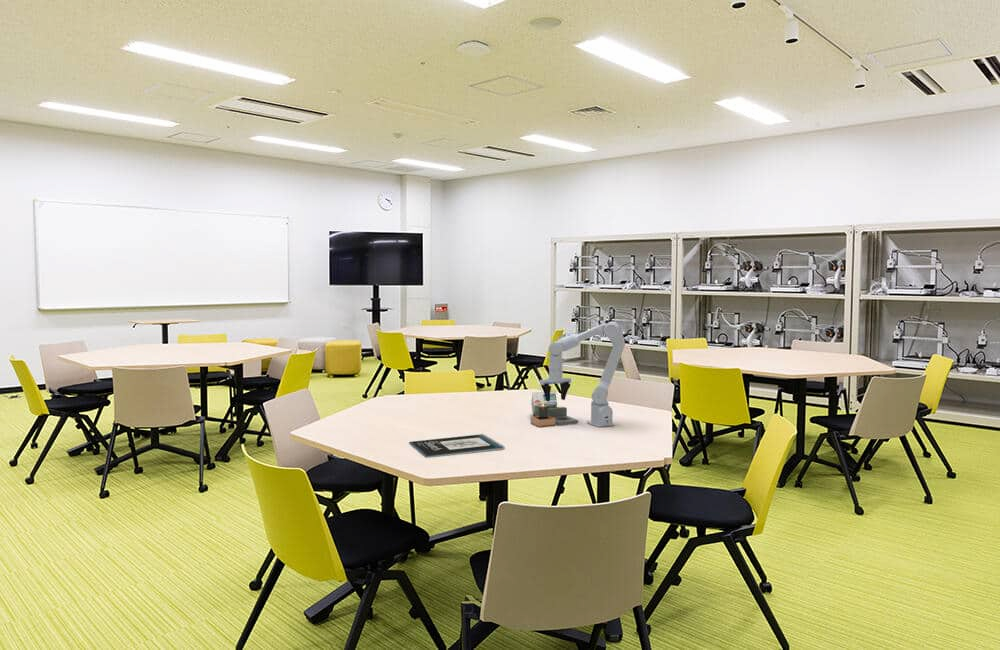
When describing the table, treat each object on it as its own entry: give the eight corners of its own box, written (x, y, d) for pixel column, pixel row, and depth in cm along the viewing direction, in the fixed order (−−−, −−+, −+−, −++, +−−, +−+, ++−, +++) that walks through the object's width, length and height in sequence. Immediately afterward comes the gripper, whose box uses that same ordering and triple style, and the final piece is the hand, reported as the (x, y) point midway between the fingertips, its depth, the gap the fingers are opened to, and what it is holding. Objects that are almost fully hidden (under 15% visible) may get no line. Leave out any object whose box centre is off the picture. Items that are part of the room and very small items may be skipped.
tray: (555, 425, 284) (555, 418, 284) (539, 427, 281) (539, 420, 280) (546, 422, 291) (546, 415, 291) (530, 423, 288) (530, 416, 287)
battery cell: (549, 423, 285) (549, 403, 284) (541, 424, 283) (541, 404, 282) (544, 421, 288) (544, 402, 288) (536, 422, 287) (536, 403, 286)
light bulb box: (553, 401, 308) (555, 390, 299) (556, 414, 304) (558, 403, 295) (530, 403, 307) (531, 392, 298) (532, 416, 303) (533, 405, 294)
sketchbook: (409, 445, 252) (409, 439, 252) (483, 438, 264) (483, 432, 264) (426, 459, 232) (426, 453, 232) (505, 450, 244) (505, 445, 244)
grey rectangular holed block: (578, 423, 288) (578, 411, 288) (557, 425, 284) (558, 413, 284) (563, 417, 300) (563, 406, 300) (543, 419, 296) (543, 407, 296)
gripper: (565, 367, 297) (565, 397, 298) (536, 368, 291) (536, 400, 292) (573, 369, 291) (573, 400, 292) (544, 370, 285) (544, 402, 286)
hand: (555, 400), depth 292 cm, fingers open, 7 cm apart
